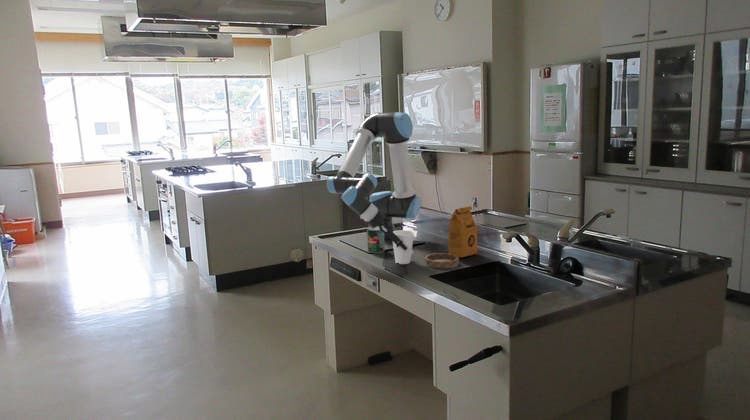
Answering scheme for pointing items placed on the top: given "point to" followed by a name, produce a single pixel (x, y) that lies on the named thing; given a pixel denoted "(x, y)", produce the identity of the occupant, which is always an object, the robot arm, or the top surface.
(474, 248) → the coffee package
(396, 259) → the foam cup
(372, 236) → the canned tomato
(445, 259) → the walnut ring holder
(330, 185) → the robot arm
